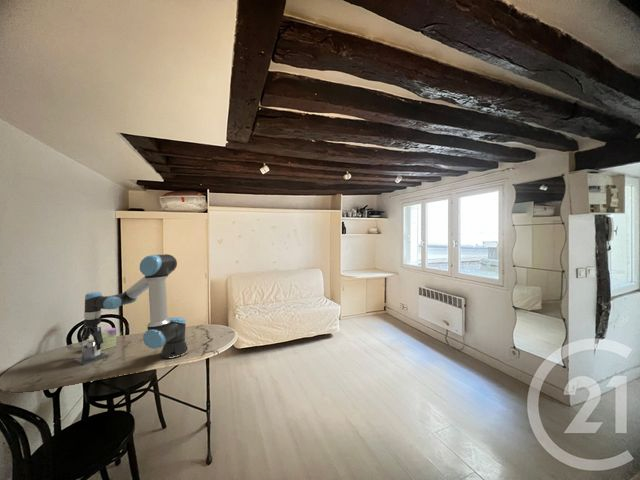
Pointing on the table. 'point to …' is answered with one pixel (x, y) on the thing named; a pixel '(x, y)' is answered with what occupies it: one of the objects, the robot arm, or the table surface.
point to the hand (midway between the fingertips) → (91, 352)
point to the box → (108, 338)
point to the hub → (88, 353)
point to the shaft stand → (84, 362)
